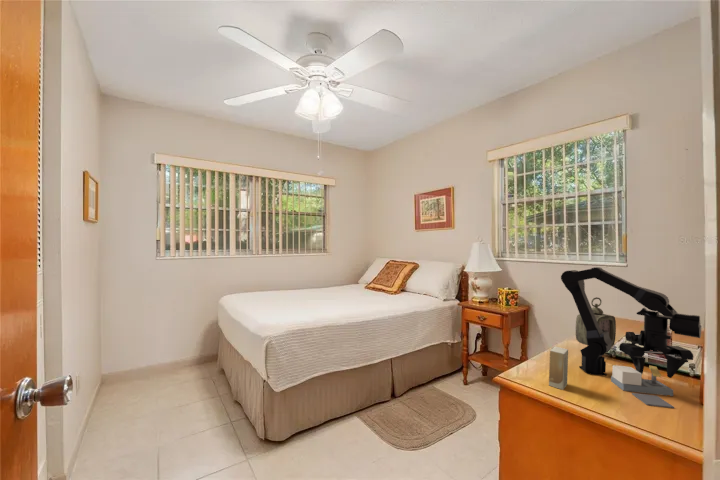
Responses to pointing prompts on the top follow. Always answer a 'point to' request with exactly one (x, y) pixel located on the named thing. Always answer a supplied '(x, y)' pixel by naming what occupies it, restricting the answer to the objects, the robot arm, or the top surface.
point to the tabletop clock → (604, 322)
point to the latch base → (645, 387)
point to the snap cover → (627, 375)
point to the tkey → (654, 374)
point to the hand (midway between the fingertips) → (654, 376)
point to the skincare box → (558, 367)
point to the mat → (652, 400)
